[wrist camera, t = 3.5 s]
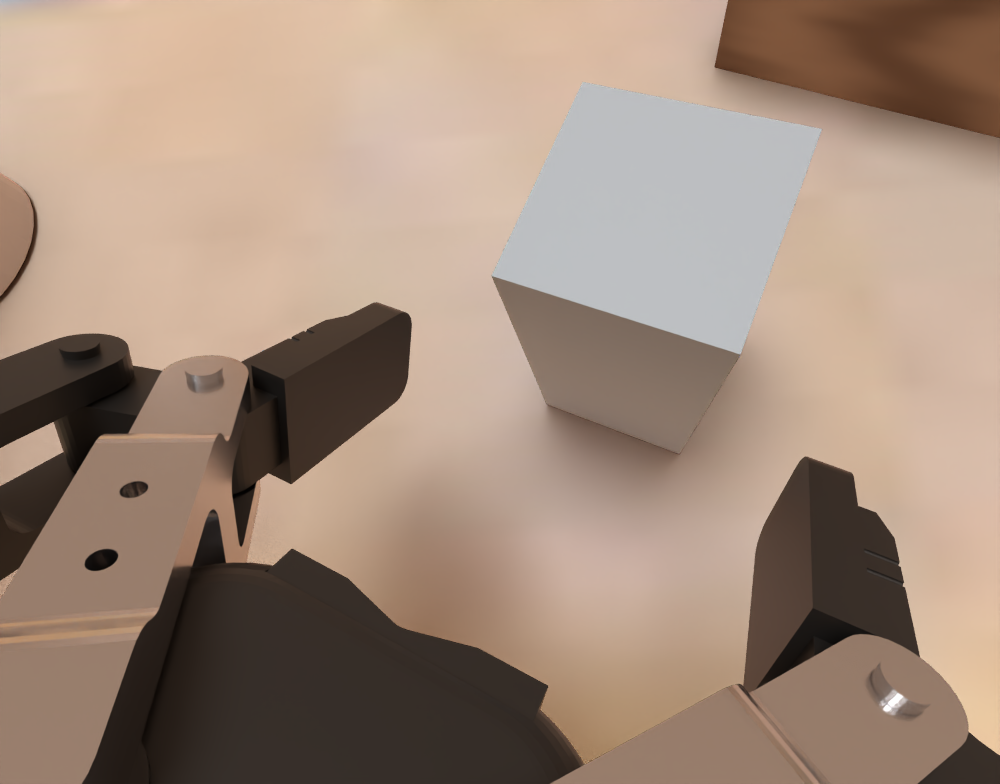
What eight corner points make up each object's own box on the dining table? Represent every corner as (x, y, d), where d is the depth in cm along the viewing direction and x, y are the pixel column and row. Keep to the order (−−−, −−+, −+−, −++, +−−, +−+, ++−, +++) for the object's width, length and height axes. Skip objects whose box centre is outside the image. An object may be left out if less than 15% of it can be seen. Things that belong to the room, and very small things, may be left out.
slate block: (546, 404, 21) (491, 275, 12) (596, 288, 22) (582, 81, 12) (679, 454, 19) (740, 354, 10) (726, 327, 20) (821, 128, 11)
